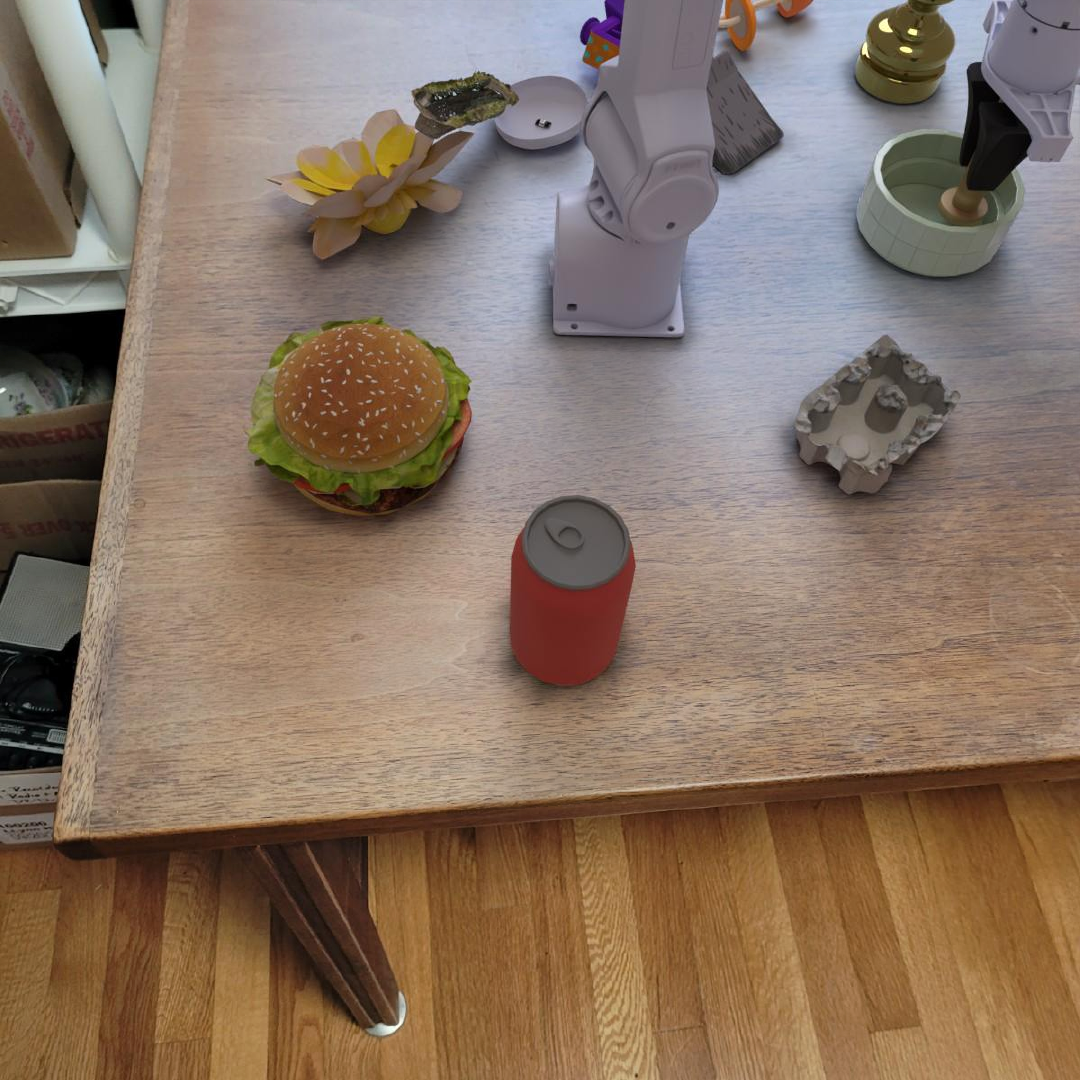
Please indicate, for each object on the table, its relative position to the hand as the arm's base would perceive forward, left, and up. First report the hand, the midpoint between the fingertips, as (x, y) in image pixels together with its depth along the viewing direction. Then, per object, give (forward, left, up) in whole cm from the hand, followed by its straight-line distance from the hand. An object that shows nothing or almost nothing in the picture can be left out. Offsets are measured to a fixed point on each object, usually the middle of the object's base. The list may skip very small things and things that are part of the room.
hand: (976, 175), depth 78 cm
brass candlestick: (-1, +19, -6) cm, 20 cm away
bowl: (-2, 0, -5) cm, 6 cm away
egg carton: (-10, -20, -6) cm, 23 cm away
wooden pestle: (0, 0, -3) cm, 3 cm away
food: (-44, -22, -6) cm, 50 cm away
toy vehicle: (-21, +16, -6) cm, 27 cm away
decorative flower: (-45, 0, -5) cm, 45 cm away
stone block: (-36, +5, +2) cm, 36 cm away
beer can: (-31, -36, -6) cm, 48 cm away
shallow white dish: (-32, +11, -6) cm, 34 cm away
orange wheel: (-22, +23, -3) cm, 32 cm away
